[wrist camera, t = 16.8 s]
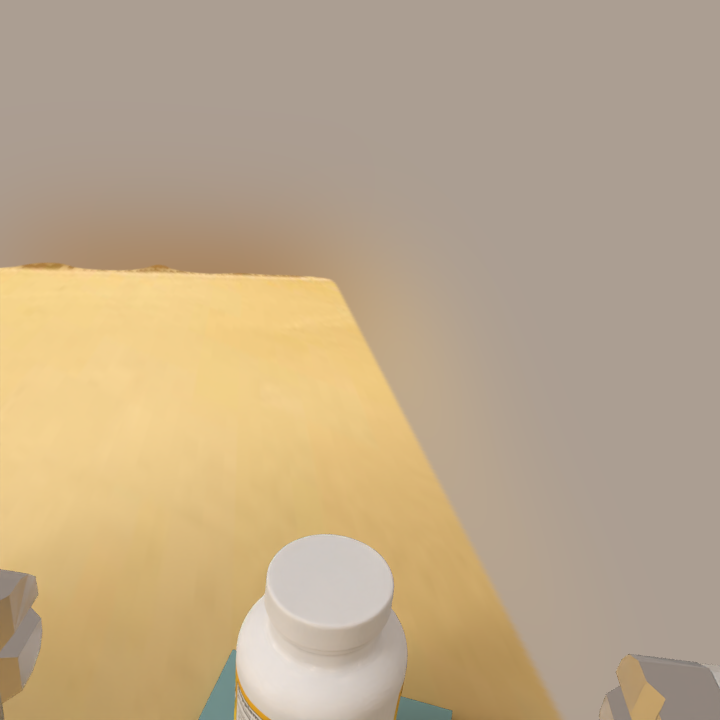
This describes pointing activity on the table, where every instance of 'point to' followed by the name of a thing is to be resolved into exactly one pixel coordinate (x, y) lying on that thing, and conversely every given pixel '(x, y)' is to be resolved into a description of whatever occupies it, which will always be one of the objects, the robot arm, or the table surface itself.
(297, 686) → the supplement bottle
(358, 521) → the table surface
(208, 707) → the teal mat
